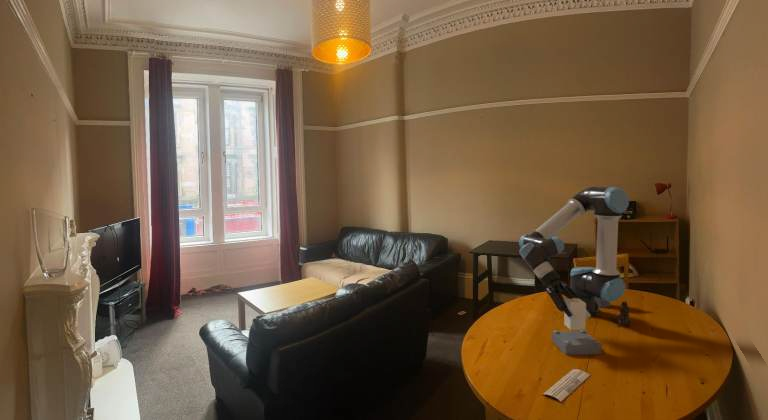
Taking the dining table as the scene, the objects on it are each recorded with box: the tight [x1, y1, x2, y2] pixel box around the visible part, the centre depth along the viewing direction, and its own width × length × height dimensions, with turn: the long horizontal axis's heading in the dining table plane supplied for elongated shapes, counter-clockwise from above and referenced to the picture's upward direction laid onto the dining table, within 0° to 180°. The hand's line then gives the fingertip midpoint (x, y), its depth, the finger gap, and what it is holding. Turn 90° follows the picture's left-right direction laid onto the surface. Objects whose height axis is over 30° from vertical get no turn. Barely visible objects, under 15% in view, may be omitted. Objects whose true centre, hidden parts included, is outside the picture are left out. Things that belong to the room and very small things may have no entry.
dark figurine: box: [611, 300, 632, 328], centre depth 193 cm, size 15×10×12 cm, turn 134°
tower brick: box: [563, 298, 587, 331], centre depth 168 cm, size 6×6×12 cm
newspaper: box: [542, 368, 591, 403], centre depth 139 cm, size 24×7×2 cm, turn 133°
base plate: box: [551, 329, 602, 356], centre depth 169 cm, size 14×14×5 cm
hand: (582, 320), depth 165 cm, fingers closed on tower brick, 8 cm apart
